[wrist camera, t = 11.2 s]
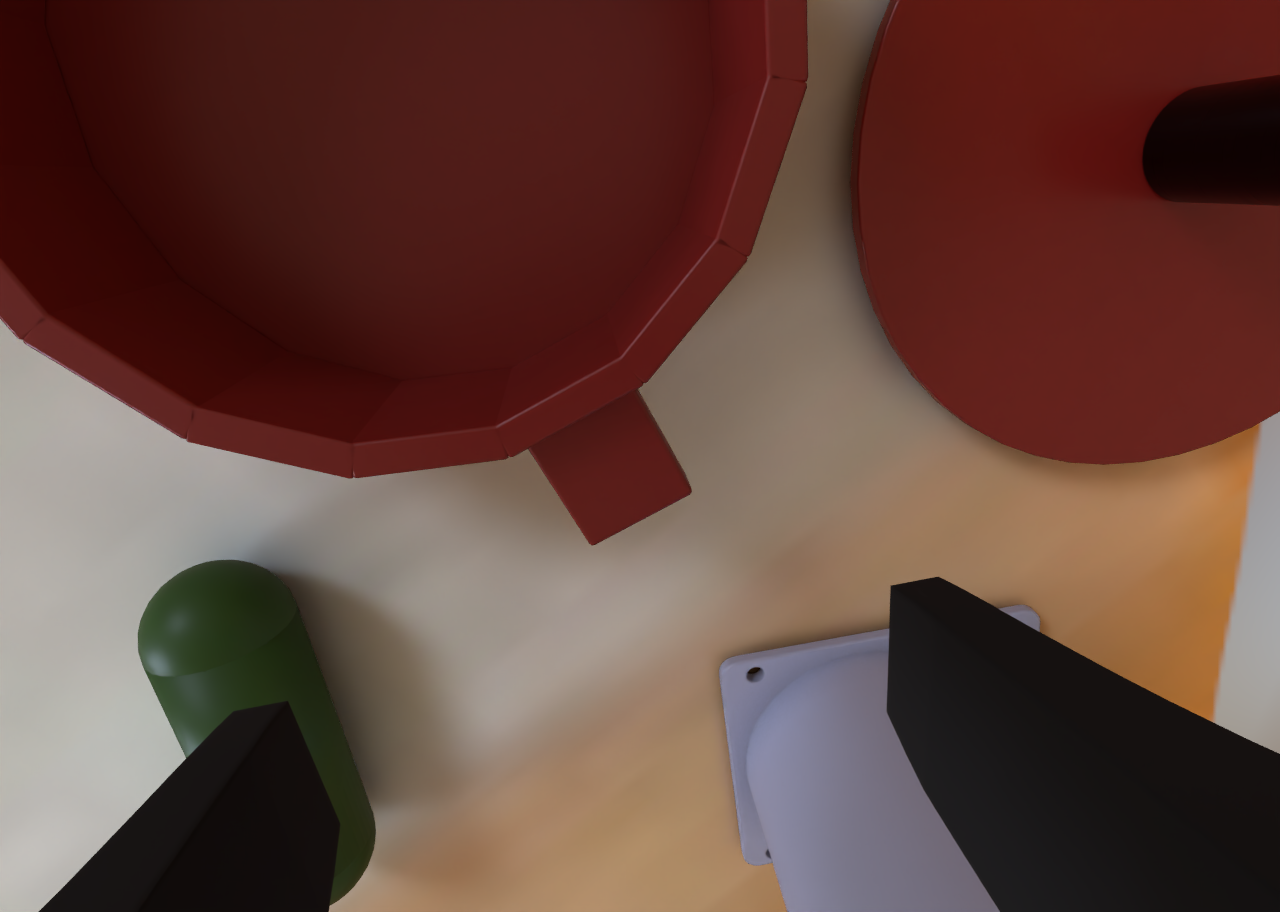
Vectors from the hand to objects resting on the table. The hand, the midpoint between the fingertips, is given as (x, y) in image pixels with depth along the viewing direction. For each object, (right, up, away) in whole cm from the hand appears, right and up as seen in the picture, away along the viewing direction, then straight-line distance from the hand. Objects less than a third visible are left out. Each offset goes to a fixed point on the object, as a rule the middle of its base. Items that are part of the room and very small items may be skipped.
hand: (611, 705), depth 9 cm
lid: (+13, +10, +8) cm, 18 cm away
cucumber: (-9, -4, +12) cm, 16 cm away
